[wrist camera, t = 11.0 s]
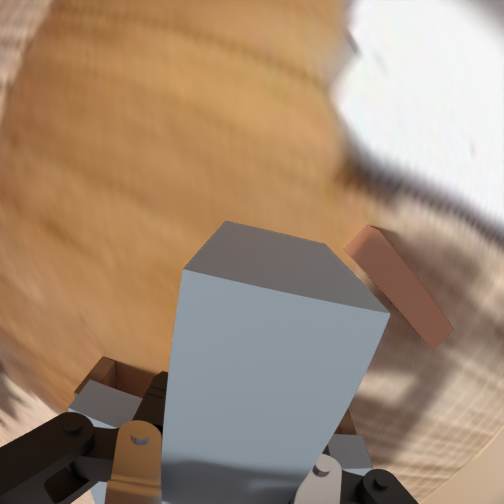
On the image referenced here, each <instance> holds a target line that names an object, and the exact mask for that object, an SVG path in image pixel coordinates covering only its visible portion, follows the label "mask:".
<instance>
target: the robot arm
mask: <svg viewBox="0 0 504 504" xmlns="http://www.w3.org/2000/svg"><path fill="white" fill-rule="evenodd" d="M167 382H168V372H164V371H162V372H161V373H159V374H158V375H156V376H155V377H154V378H153V380H152V382H151V384H150V386H149V388H148V389H147V391H146V394H145V395H144V397H143V399H142V401H141V403H140V405H139V407H138V409H137V411H136V413H135V415H134V417H133V419H132V420H131V421H129V422H126V423H124V424H123V425H122V426H121V427H120V428H113V429H112V428H102V427H94V426H93V424H92V422H91V421H90V419H89V418H87V417H86V416H85V415H83V414H80V413H77V412H65V413H62V414H60V415H58V416H56V417H55V418H53V419H51V420H49V421H48V422H46V423H44V424H42V425H41V426H39V427H37V428H35V429H33V430H32V431H30V432H28V433H26V434H24V435H23V436H21V437H19V438H17V439H15V440H13V441H11V442H10V443H8V444H6V445H4V446H2V447H0V504H71V503H72V502H73V501H75V500H76V499H77V498H79V497H80V496H81V495H83V494H84V493H85V492H86V491H88V490H89V489H90V488H92V487H93V486H94V485H95V484H97V483H98V482H107V487H106V494H105V503H104V504H162V489H161V454H162V439H163V426H164V414H165V403H166V392H167ZM288 504H418V503H417V501H416V500H415V499H414V498H413V497H412V496H411V495H410V493H409V492H408V491H407V490H406V489H405V488H404V487H403V485H402V484H401V483H400V482H399V481H398V480H397V478H396V477H395V476H394V475H393V474H392V473H390V472H388V471H386V470H383V469H373V470H370V471H368V472H367V473H366V474H365V475H364V476H362V475H358V474H354V473H350V472H347V471H344V470H342V469H341V466H340V464H339V463H338V462H337V461H336V460H335V459H334V458H332V457H331V456H330V452H329V448H328V444H327V446H326V447H325V449H324V450H323V452H322V454H321V455H320V457H319V458H318V460H317V462H316V463H315V465H314V466H313V468H312V469H311V471H310V472H309V474H308V475H307V477H306V478H305V480H304V481H303V483H302V484H301V486H298V487H297V488H296V489H295V491H294V492H293V494H292V498H291V500H290V501H289V502H288Z"/></svg>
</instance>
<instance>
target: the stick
mask: <svg viewBox="0 0 504 504" xmlns="http://www.w3.org/2000/svg"><path fill="white" fill-rule="evenodd" d="M344 250H345V251H346V252H347V254H348V255H349V256H350V257H351V258H352V259H353V260H354V261H355V262H356V263H357V264H358V265H359V267H360V268H361V269H362V270H363V271H364V272H365V273H366V274H367V275H368V276H369V278H370V279H371V280H372V281H373V282H374V283H375V284H376V285H377V287H378V288H379V289H380V290H381V291H382V292H383V293H384V294H385V296H386V297H387V298H388V299H389V300H390V301H391V303H392V304H393V305H394V306H395V307H396V308H397V310H398V311H399V312H400V313H401V314H402V315H403V317H404V318H405V319H406V320H407V321H408V323H409V324H410V325H411V326H412V327H413V329H414V330H415V331H416V332H417V333H418V335H419V336H420V337H421V338H422V339H423V340H424V342H425V343H426V344H427V345H428V346H429V347H430V348H431V350H432V351H433V350H434V349H435V348H436V347H437V346H438V345H439V344H440V343H441V342H442V341H443V340H444V339H445V338H446V337H447V336H448V335H449V334H450V333H451V332H452V331H453V330H454V329H453V327H452V326H451V324H450V323H449V321H448V320H447V318H446V317H445V316H444V314H443V313H442V311H441V310H440V308H439V307H438V306H437V304H436V303H435V301H434V300H433V299H432V297H431V296H430V294H429V293H428V292H427V290H426V289H425V288H424V286H423V285H422V284H421V282H420V281H419V280H418V278H417V277H416V276H415V274H414V273H413V272H412V270H411V269H410V268H409V267H408V265H407V264H406V263H405V262H404V260H403V259H402V258H401V256H400V255H399V254H398V253H397V252H396V250H395V249H394V248H393V247H392V245H391V244H390V243H389V242H388V241H387V239H386V238H385V237H384V236H383V235H382V233H381V232H380V231H379V230H377V229H375V228H373V227H371V226H369V225H366V226H365V227H364V229H363V230H362V231H361V232H360V233H359V234H358V235H357V236H356V237H355V238H354V239H353V240H352V241H351V242H350V243H349V244H348V245H347V246H346V247H345V248H344Z"/></svg>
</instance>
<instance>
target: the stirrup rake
mask: <svg viewBox="0 0 504 504" xmlns="http://www.w3.org/2000/svg"><path fill="white" fill-rule="evenodd" d="M390 315H391V313H390V312H389V311H388V310H387V309H386V308H385V307H384V306H383V305H382V303H381V302H380V301H379V300H378V299H377V298H376V297H375V296H374V295H373V294H372V293H371V291H370V290H369V289H368V288H367V287H366V286H365V285H364V284H363V283H362V282H361V281H360V280H359V279H358V278H357V277H356V275H355V274H354V273H353V272H352V271H351V270H350V269H349V268H348V267H347V266H346V265H345V264H344V263H343V262H342V261H341V260H340V259H339V258H338V257H337V256H336V255H335V254H334V253H333V251H332V250H331V249H330V248H329V247H328V246H327V245H326V244H323V243H319V242H315V241H311V240H307V239H302V238H298V237H294V236H290V235H286V234H281V233H277V232H273V231H269V230H264V229H260V228H256V227H252V226H247V225H243V224H238V223H234V222H230V221H225V222H224V223H223V224H222V225H221V226H220V228H219V229H218V230H217V231H216V232H215V233H214V234H213V235H212V237H211V238H210V239H209V240H208V241H207V242H206V243H205V244H204V246H203V247H202V248H201V249H200V250H199V251H198V252H197V254H196V255H195V256H194V257H193V258H192V259H191V260H190V262H189V263H188V264H187V265H186V266H185V267H184V268H183V272H182V278H181V285H180V291H179V297H178V304H177V311H176V318H175V325H174V332H173V340H172V348H171V356H170V364H169V373H168V382H167V392H166V403H165V414H164V426H163V439H162V454H161V489H162V504H288V502H289V501H290V500H291V498H292V494H293V492H294V491H295V489H296V488H297V487H298V486H301V484H302V483H303V481H304V480H305V478H306V477H307V475H308V474H309V472H310V471H311V469H312V468H313V466H314V465H315V463H316V462H317V460H318V458H319V457H320V455H321V454H322V452H323V450H324V449H325V447H326V446H327V444H328V448H329V452H330V456H331V457H332V458H334V459H335V460H336V461H337V462H338V463H339V464H340V466H341V469H342V470H344V471H347V472H350V473H354V474H358V475H362V476H364V475H365V474H366V473H367V472H368V471H370V470H372V469H373V466H372V463H371V460H370V457H369V454H368V451H367V448H366V445H365V442H364V439H363V437H362V435H342V434H334V432H335V430H336V429H337V427H338V425H339V423H340V421H341V420H342V418H343V416H344V414H345V412H346V410H347V409H348V407H349V405H350V403H351V401H352V399H353V397H354V395H355V393H356V391H357V389H358V387H359V385H360V383H361V381H362V379H363V377H364V375H365V373H366V371H367V369H368V366H369V364H370V362H371V360H372V358H373V355H374V353H375V351H376V349H377V346H378V344H379V342H380V339H381V337H382V335H383V332H384V330H385V327H386V325H387V322H388V320H389V317H390ZM142 399H143V398H140V397H137V396H134V395H131V394H128V393H125V392H122V391H120V390H117V389H114V388H111V387H109V386H106V385H103V384H101V383H98V382H96V381H93V380H91V379H90V380H89V381H88V383H87V384H86V385H85V386H84V388H83V389H82V390H81V392H80V393H79V394H78V395H77V397H76V398H75V399H74V401H73V402H72V403H71V405H70V406H69V407H68V409H69V412H77V413H80V414H83V415H85V416H86V417H87V418H89V419H90V421H91V422H92V424H93V426H94V427H102V428H112V429H113V428H120V427H121V426H122V425H123V424H124V423H126V422H129V421H131V420H132V419H133V417H134V415H135V413H136V411H137V409H138V407H139V405H140V403H141V401H142ZM106 487H107V482H98V483H97V484H95V485H94V486H93V487H92V488H90V490H91V493H92V496H93V499H94V501H95V504H104V503H105V494H106Z"/></svg>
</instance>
